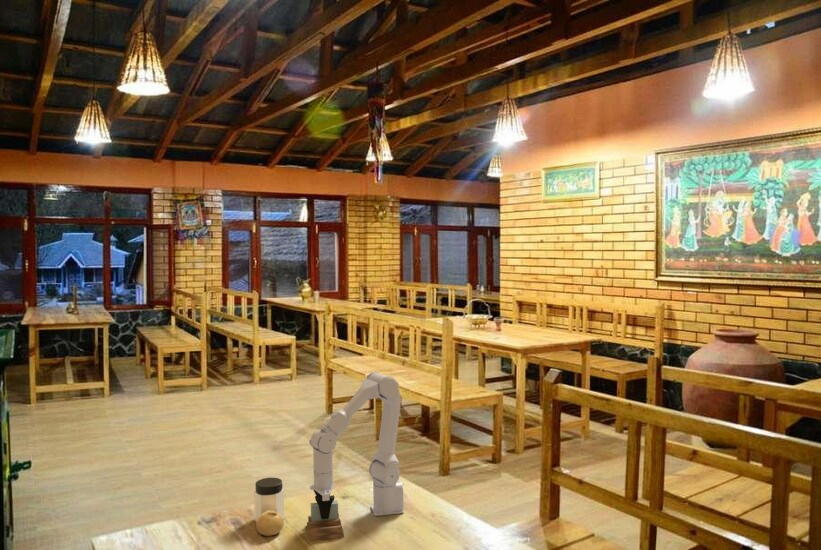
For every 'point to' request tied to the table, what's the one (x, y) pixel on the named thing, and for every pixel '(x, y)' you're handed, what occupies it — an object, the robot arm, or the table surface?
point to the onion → (269, 523)
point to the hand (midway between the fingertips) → (324, 515)
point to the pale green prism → (316, 512)
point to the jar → (269, 496)
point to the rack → (324, 529)
